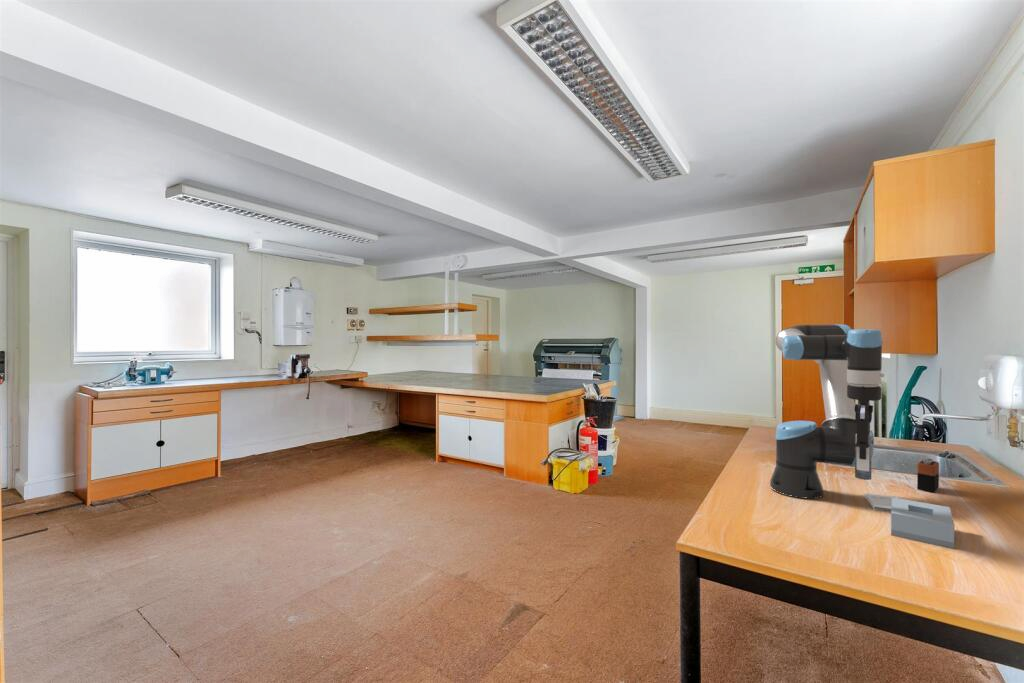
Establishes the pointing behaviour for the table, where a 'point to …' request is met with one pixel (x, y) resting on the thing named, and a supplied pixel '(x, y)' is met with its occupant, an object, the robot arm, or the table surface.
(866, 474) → the pin
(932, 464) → the battery
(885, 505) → the external hard drive
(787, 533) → the table surface
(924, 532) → the socket block
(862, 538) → the table surface
